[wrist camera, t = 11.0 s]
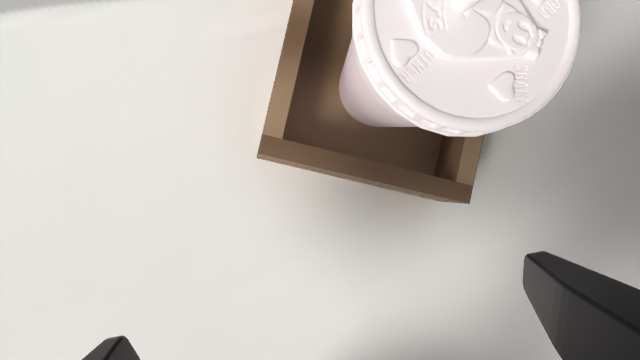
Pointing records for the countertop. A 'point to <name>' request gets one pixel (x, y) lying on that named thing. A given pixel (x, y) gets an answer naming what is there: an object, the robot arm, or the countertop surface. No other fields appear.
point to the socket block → (352, 119)
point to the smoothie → (457, 62)
